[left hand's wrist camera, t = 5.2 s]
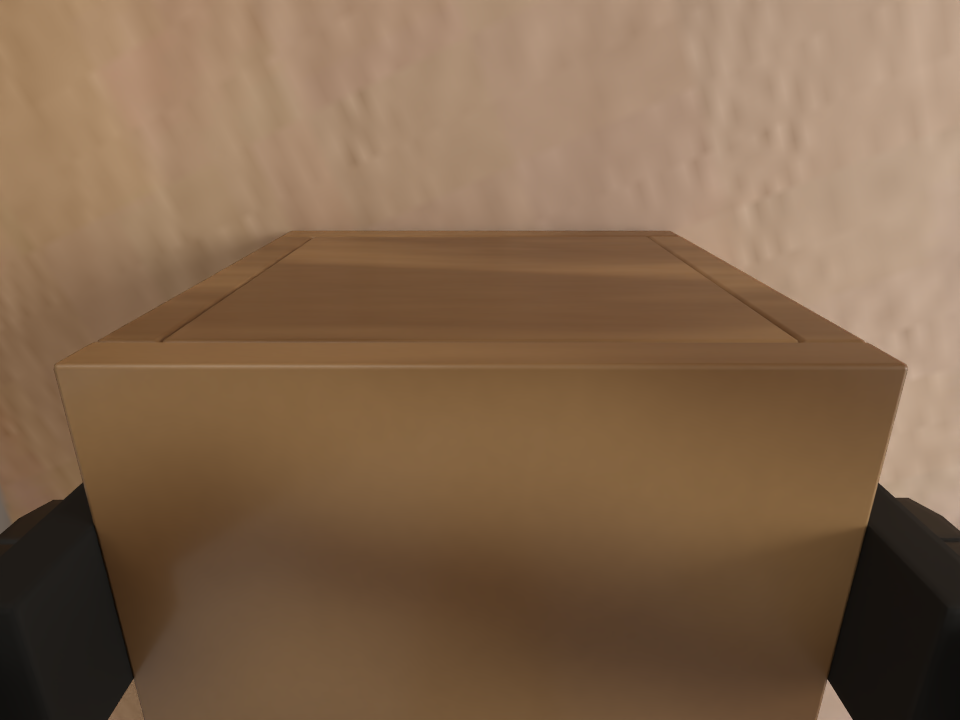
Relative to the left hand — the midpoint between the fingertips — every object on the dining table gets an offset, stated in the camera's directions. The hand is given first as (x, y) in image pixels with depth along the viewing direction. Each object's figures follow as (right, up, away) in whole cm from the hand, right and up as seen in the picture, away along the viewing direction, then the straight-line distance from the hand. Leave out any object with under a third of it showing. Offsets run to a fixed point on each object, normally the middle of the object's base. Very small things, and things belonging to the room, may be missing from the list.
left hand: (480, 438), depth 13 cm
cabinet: (0, -4, +7) cm, 8 cm away
